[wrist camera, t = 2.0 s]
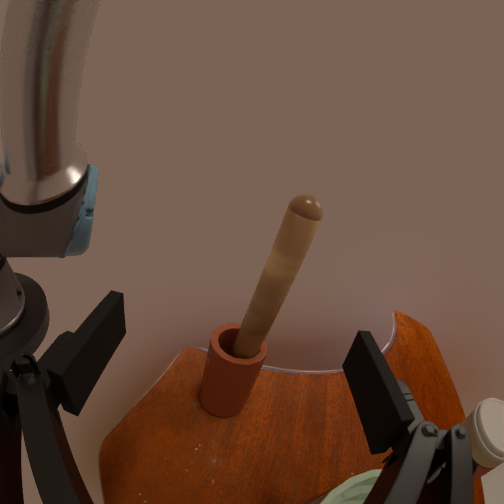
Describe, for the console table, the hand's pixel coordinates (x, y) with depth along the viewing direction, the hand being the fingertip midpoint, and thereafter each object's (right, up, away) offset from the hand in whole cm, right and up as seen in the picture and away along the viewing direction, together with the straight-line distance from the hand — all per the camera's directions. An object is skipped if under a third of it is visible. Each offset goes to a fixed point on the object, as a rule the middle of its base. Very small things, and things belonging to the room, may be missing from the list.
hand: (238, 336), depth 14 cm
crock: (-3, -13, +15) cm, 20 cm away
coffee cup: (+25, -25, +6) cm, 36 cm away
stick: (-3, -12, +15) cm, 19 cm away
